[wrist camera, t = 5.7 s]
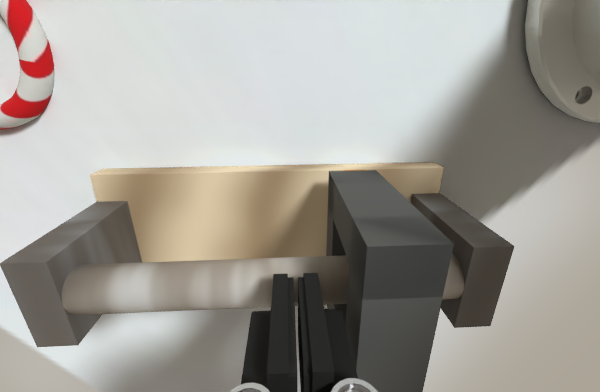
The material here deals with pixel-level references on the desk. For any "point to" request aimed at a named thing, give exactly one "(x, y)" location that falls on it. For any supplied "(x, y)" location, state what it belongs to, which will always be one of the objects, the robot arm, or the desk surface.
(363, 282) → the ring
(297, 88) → the desk surface
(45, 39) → the candy cane
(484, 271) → the rail fixture
